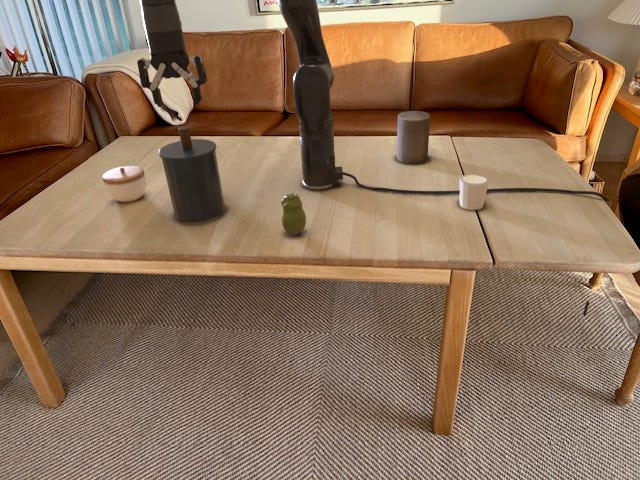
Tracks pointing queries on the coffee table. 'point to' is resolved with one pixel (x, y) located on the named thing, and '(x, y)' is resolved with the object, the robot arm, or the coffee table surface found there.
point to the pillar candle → (413, 137)
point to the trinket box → (125, 183)
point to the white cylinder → (473, 191)
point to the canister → (195, 188)
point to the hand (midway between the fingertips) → (179, 105)
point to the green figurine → (293, 214)
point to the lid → (187, 147)
